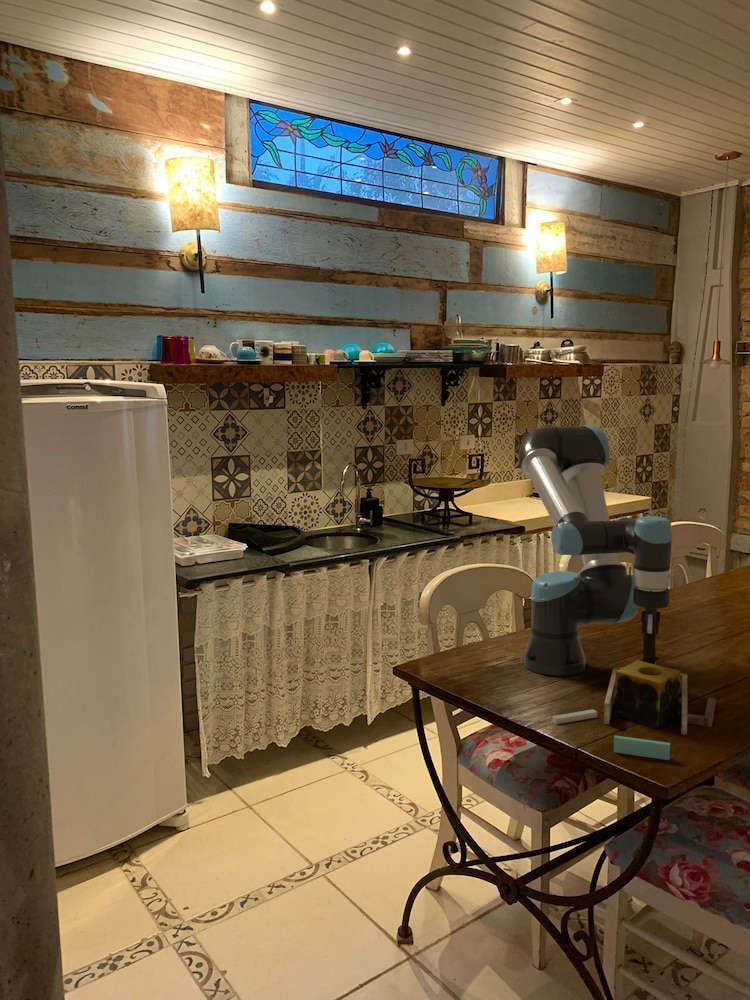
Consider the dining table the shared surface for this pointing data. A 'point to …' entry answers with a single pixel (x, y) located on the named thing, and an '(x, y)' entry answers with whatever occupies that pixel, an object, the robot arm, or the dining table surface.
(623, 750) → the bar
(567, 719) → the grey stick
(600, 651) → the dining table surface
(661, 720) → the candle
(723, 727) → the dining table surface
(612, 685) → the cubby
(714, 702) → the crook tool
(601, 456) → the robot arm
